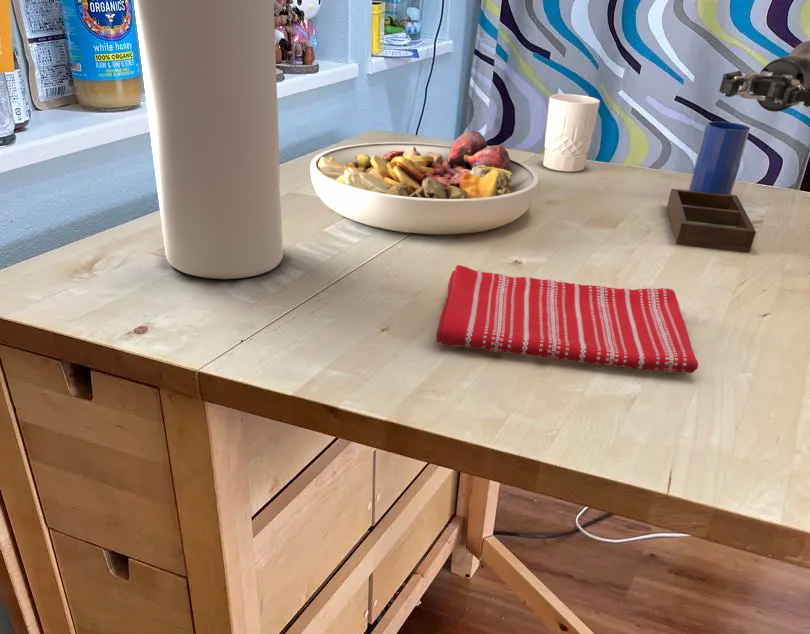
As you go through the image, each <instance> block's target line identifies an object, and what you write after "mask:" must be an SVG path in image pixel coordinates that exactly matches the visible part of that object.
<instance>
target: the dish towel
mask: <svg viewBox="0 0 810 634" xmlns="http://www.w3.org/2000/svg"><path fill="white" fill-rule="evenodd" d="M446 295H447V296H446V298H445V301H444V305H443V308H442V310H441V311H442V312H441V314H440V317H439V320H438V326H437V330H436V342H437V343H439V344H440V345H443V346H451V347H452V346H453V347H454V346H456V347H457V346H458V347H464V348H466V349H467V348H468V349H475V350H481V351H482V350H483V351H490V352H493V353H494V352H495V353H507V354H514V355H520V356H529V357H530V356H531V357H536V358H542V359H543V358H545V359H550V360H561V361H572V362H576V363H579V364H580V363H582V364H583V363H585V364H591V365H598V366H604V367H609V368H611V367H612V368H617V367H618V368H623V369H625V368H627V369H634V370H642V371H643V370H647V371H653V372H664V373H681V374H683V373H687V374H693V373H694V372H696V371H697V369H698V367H699V360H698V359H697V358H696V356H695V353H694V351H693V347H692V343H691V339H690V335H689V333H688V329H687V326H686V322H685V319H684V317H683V313H682V309H681V305H680V303H679V301H678V299H677V295H676V292H675V290H674V289H671V288H664V287H662V288H661V287H660V288H647V287H646V288H637V289H630V288H629V287H623V288H616V287H609V286H604V285H603V286H602V285H594V284H593V285H591V284H580V283H577V282H576V283H575V282H573V283H571V282H565V281H557V280H553V279H548V278H547V279H543V278H535V277H530V276H519V277H518V276H509V275H506V274H502V273H495V272H486V271H482V270H474V269H472V268H470V267H468V266H464V265H461V264H457V265H456V266H455V269H454V270H452V271H451V274H450V277H449V280H448V283H447V294H446Z"/></svg>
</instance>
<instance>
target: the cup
mask: <svg viewBox="0 0 810 634" xmlns="http://www.w3.org/2000/svg"><path fill="white" fill-rule="evenodd" d="M703 128H704V129H703V133H702V137H701V140H700V144H699V148H698V152H697V155H696V160H695V164H694V167H693V172H692V175H691V180H690V183H689V187H688V190H690V191H700V192H709V193H719V194H728V195H732V193H733V189H734V186H735V183H736V178H737V176H738V172H739V168H740V165H741V162H742V158H743V154H744V150H745V148H746V143H747V140H748V137H749V134H750V130H751V128H750V127H749V126H747V125H745V124H741V123H736V122H730V121H719V120H717V121H716V120H714V121H713V120H712V121H706V123H705V126H704V127H703Z"/></svg>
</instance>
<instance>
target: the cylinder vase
mask: <svg viewBox="0 0 810 634" xmlns="http://www.w3.org/2000/svg"><path fill="white" fill-rule="evenodd" d="M274 3H275V2H274V0H133V4H134V12H135V20H136V27H137V29H136V30H137V37H138V43H139V53H140V61H141V68H142V76H143V84H144V91H145V101H146V109H147V116H148V124H149V132H150V140H151V149H152V156H153V165H154V171H155V172H154V173H155V180H156V181H155V182H156V187H157V196H158V197H157V198H158V204H159V214H160V219H161V229H162V236H163V245H164V252H165V258H166V260H167V262H168V263H169V264H170V266H171V267H173V268H174V269H176V270H177V271H179V272H182V273H184V274H186V275H189V276H193V277H198V278H204V279H215V280H237V279H246V278H250V277H256V276H260V275H263V274H266V273H268V272H271V271H273V269H275V268H276V267H278V265H280V263H281V262H282V259H283V255H284V250H283V223H282V221H283V220H282V195H281V194H282V193H281V192H282V191H281V167H280V166H281V165H280V140H279V137H280V136H279V114H278V113H279V112H278V109H279V108H278V86H277V84H278V83H277V81H278V80H277V60H276V59H277V57H276V56H277V55H276V32H275V31H276V29H275V27H276V26H275V5H274Z"/></svg>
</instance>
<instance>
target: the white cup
mask: <svg viewBox="0 0 810 634" xmlns="http://www.w3.org/2000/svg"><path fill="white" fill-rule="evenodd" d="M600 103H601V100H600V99H598V98H596V97H593V96H590V95H589V96H588V95H582V94H572V93H555V94H551V95H549V97H548V105H547V106H548V107H547V116H546V126H545V134H544V146H543V147H544V155H543V163H542V165H543V166H544V167H545V168H547V169H550V170H554V171H559V172H569V173H570V172H571V173H572V172H573V173H574V172H580V171H584V170H585V166H586V161H587V158H588V157H587V156H588V153H589V151H590V146H591V143H592V138H593V135H594V131H595V127H596V126H595V125H596V123H597V122H596V120H597V117H598V112H599V108H600Z"/></svg>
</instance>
